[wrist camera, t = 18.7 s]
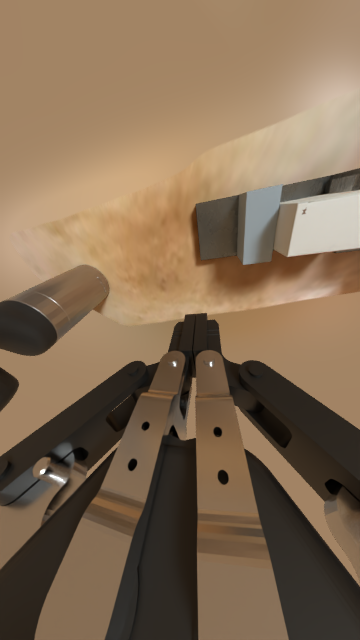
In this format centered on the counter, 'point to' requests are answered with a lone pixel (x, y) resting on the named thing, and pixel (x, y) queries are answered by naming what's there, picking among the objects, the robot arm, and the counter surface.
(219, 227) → the vise bed
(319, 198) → the small box
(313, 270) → the counter surface
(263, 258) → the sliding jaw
